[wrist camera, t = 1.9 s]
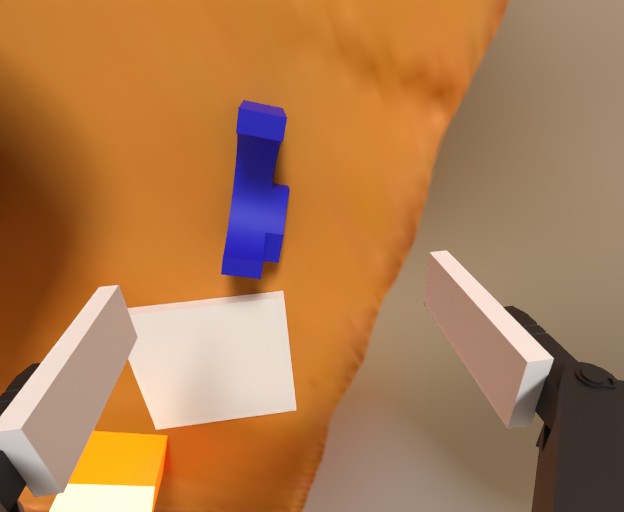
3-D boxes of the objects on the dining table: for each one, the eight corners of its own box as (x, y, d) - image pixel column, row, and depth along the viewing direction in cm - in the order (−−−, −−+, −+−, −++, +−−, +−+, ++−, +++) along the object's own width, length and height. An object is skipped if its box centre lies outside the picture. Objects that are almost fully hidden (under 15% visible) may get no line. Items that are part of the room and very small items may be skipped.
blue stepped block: (277, 247, 33) (279, 281, 28) (228, 240, 33) (221, 274, 27) (301, 112, 28) (309, 122, 23) (243, 100, 27) (238, 107, 22)
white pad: (159, 420, 42) (156, 429, 41) (116, 309, 34) (111, 317, 33) (295, 401, 43) (296, 410, 42) (283, 290, 36) (283, 297, 34)
